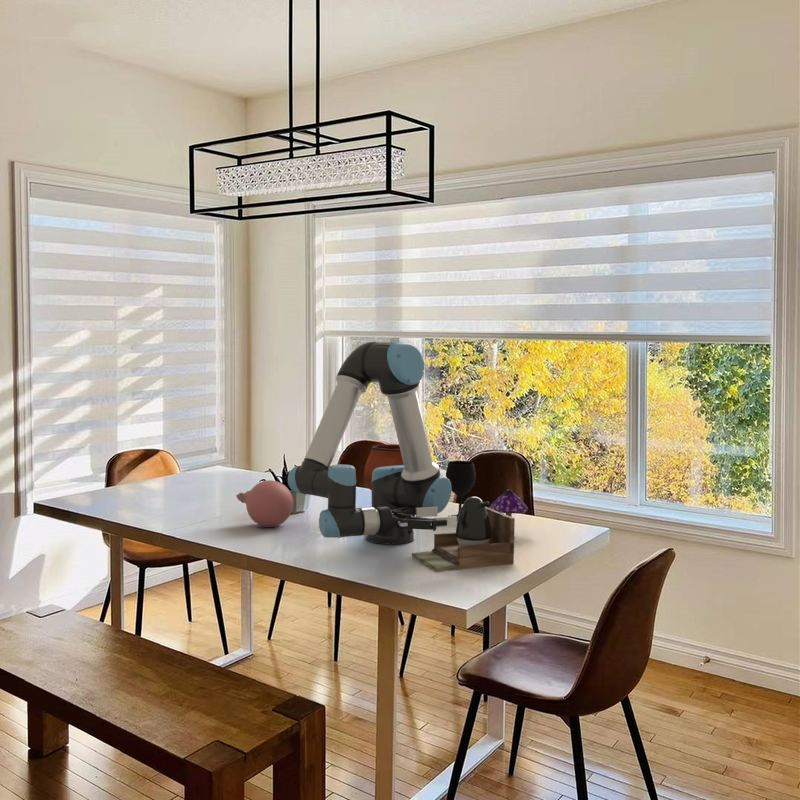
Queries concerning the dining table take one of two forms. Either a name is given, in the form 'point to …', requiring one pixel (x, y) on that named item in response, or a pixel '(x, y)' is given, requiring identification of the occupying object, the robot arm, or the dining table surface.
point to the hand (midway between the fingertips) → (446, 516)
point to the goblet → (382, 459)
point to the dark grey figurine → (473, 523)
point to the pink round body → (268, 503)
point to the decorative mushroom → (509, 504)
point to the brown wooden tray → (473, 547)
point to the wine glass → (461, 478)
